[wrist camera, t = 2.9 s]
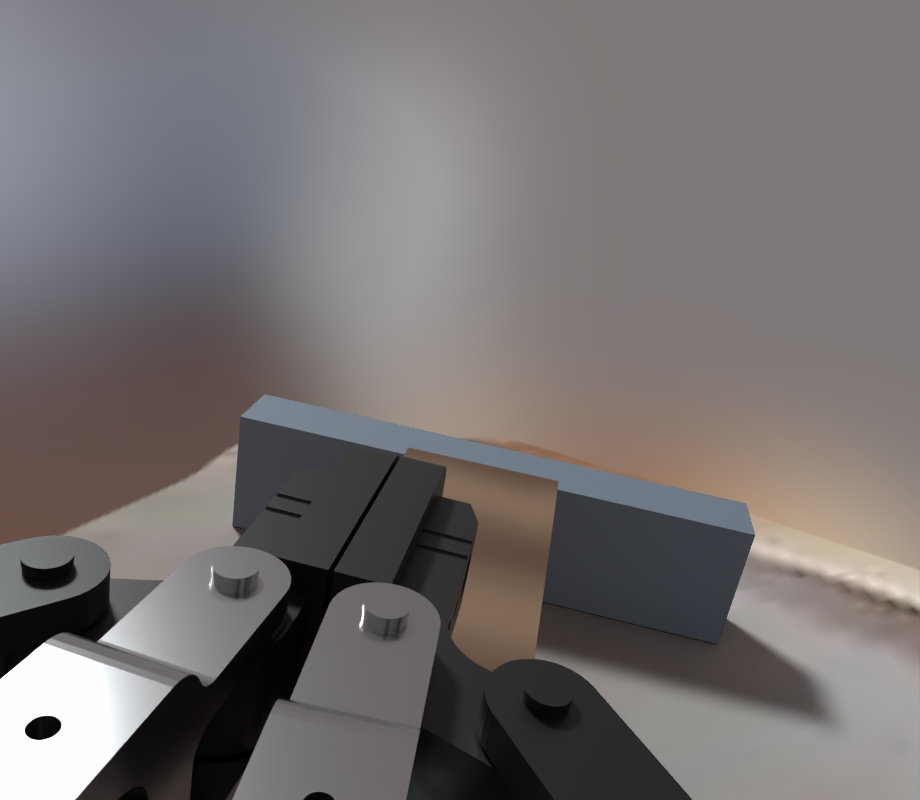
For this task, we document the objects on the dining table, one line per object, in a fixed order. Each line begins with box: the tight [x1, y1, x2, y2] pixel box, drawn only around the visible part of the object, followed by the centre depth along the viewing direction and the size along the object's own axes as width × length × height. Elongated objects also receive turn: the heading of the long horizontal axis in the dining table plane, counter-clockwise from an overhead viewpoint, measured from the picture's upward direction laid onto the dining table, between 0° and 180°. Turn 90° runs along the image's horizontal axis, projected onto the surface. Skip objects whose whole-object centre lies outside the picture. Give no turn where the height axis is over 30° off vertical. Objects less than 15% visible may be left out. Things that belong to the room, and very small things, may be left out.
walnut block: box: [404, 447, 559, 672], centre depth 29 cm, size 13×6×9 cm, turn 171°
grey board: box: [233, 395, 755, 644], centre depth 42 cm, size 3×24×6 cm, turn 80°
